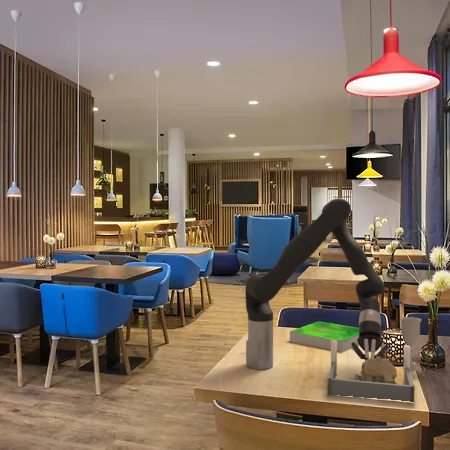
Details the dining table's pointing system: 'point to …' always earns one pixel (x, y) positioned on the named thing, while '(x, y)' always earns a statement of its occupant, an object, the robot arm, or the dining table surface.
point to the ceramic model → (377, 371)
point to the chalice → (410, 335)
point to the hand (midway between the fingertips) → (369, 370)
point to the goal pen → (371, 388)
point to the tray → (325, 335)
